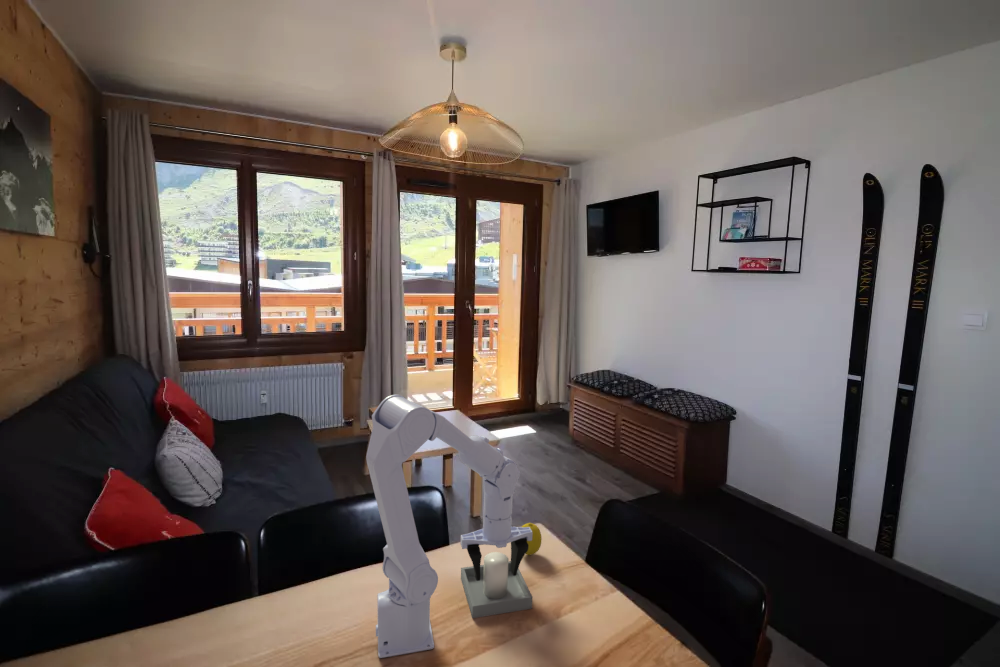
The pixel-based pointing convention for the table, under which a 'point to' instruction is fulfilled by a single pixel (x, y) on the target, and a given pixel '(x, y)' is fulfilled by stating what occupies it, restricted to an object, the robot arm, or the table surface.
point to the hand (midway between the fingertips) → (495, 575)
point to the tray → (485, 606)
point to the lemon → (533, 539)
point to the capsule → (495, 575)
